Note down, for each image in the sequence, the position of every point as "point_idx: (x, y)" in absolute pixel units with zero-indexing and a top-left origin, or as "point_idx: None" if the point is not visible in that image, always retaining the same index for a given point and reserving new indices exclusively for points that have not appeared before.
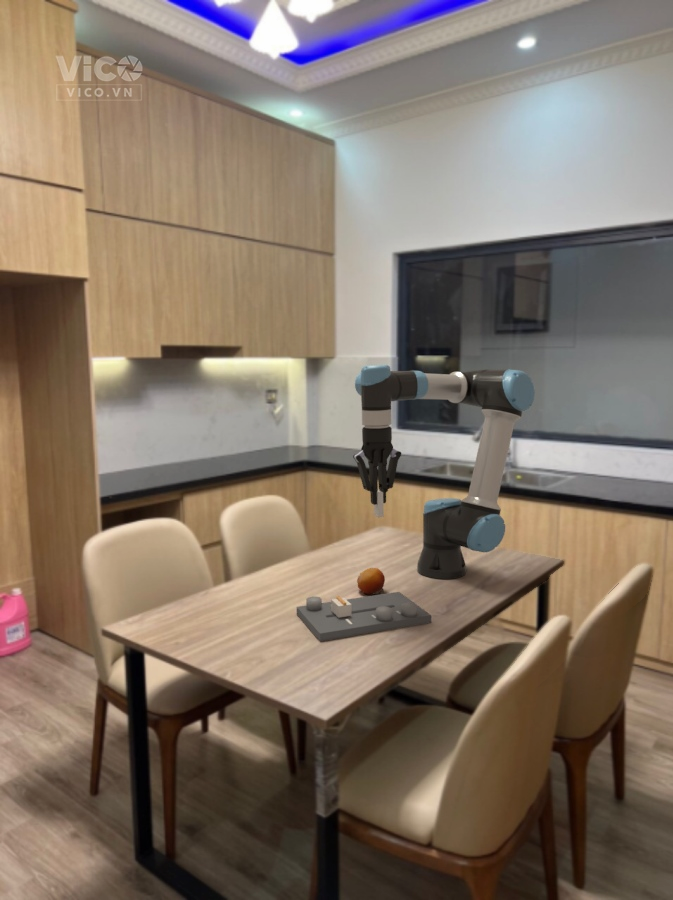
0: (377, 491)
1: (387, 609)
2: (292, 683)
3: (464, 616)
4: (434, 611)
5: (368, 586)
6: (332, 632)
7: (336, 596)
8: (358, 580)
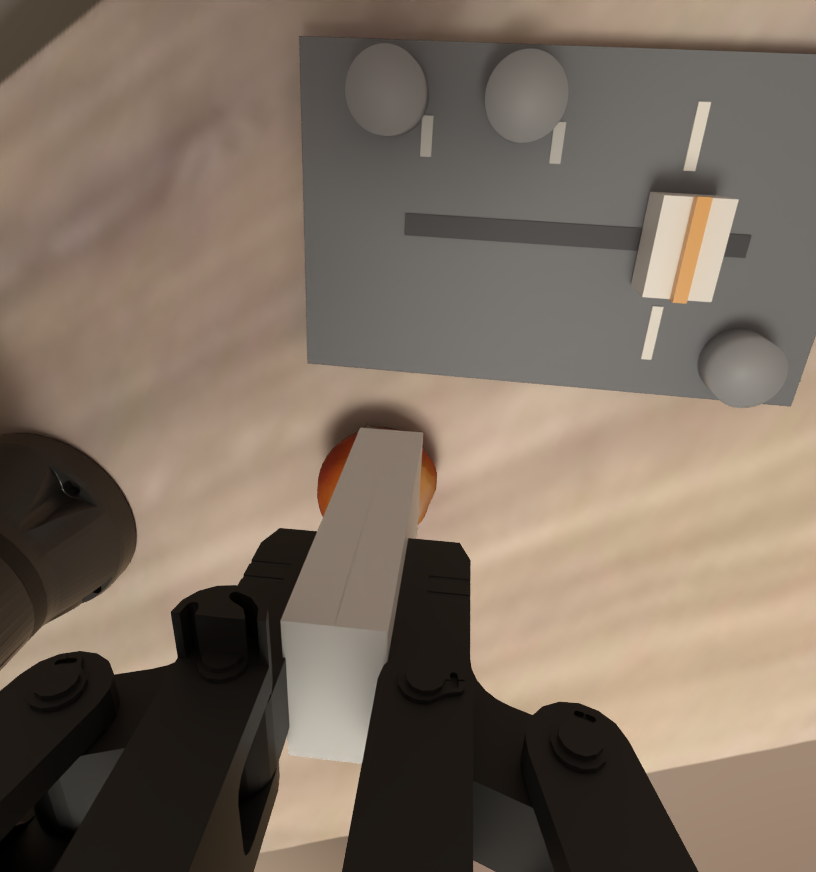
0: (344, 707)
1: (512, 85)
2: None
3: (138, 43)
4: (239, 160)
5: None
6: None
7: (686, 302)
8: (429, 501)
